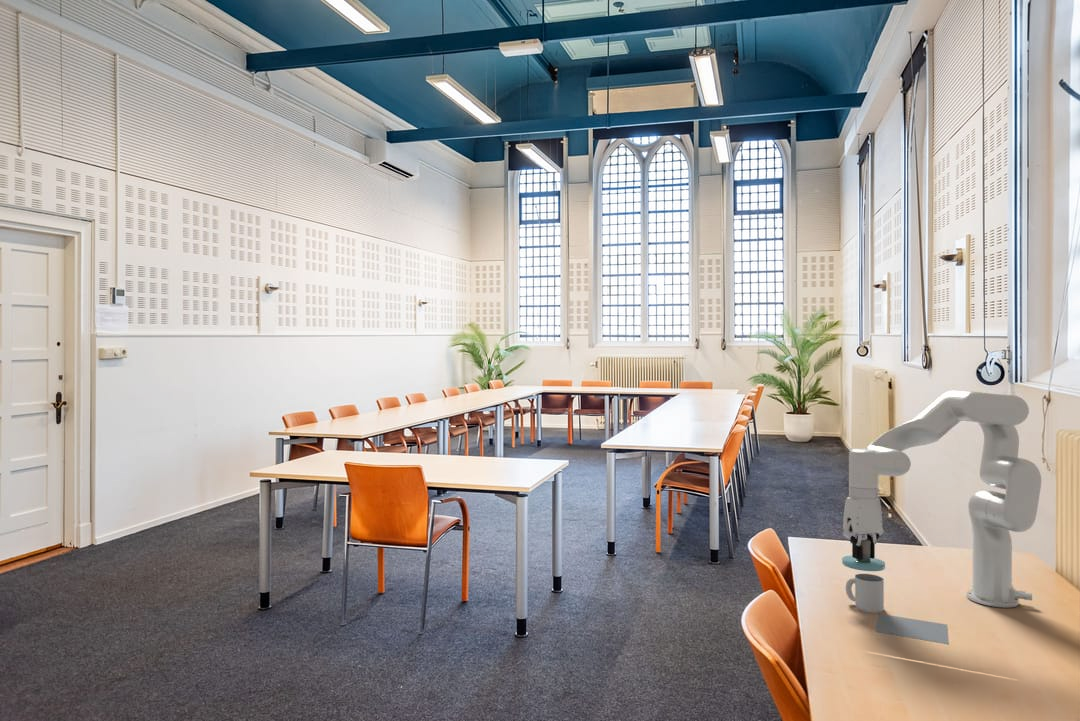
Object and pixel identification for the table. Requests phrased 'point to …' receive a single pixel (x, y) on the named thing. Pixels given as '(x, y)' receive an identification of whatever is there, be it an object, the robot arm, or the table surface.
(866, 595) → the cup
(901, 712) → the table surface
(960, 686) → the table surface
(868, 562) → the lid
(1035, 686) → the table surface
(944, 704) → the table surface
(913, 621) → the mat
